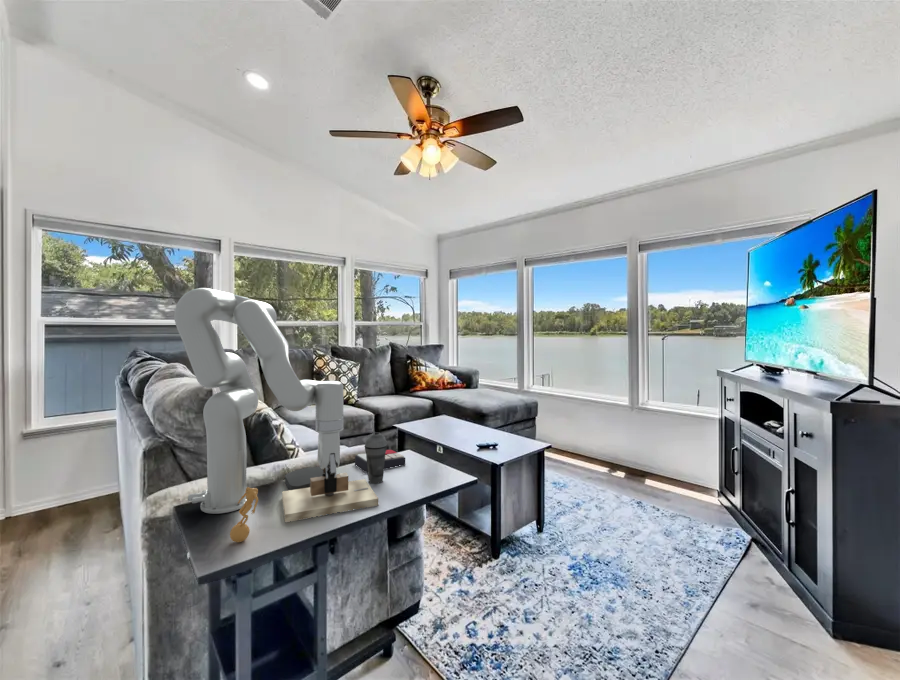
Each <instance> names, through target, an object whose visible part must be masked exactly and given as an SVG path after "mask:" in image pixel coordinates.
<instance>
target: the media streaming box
mask: <svg viewBox="0 0 900 680" xmlns="http://www.w3.org/2000/svg"><path fill="white" fill-rule="evenodd" d="M323 474H325V473H323V469H321V467H320V466H312V467H311V466H310V467H304V468H299V469H295V470H291V471H290V472H287V473H286V474H285V475H284V483H285V486H286V487H287V489H288V491H289V490H296V489H302V488H309V487H310V478H314V477H321V476H323Z"/></svg>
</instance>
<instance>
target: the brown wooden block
mask: <svg viewBox="0 0 900 680" xmlns="http://www.w3.org/2000/svg"><path fill="white" fill-rule="evenodd" d="M336 477H337V490H336V492H341V491H347V490H348V482H349V475H348V473H347V472H341V473H338V474H337V473H336ZM324 478H326V476H321V477H314V478H310V493H311V496H316V495H322V494H325V496H332V495H334V492H330V493H325V492H324Z"/></svg>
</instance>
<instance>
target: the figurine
mask: <svg viewBox="0 0 900 680" xmlns="http://www.w3.org/2000/svg"><path fill="white" fill-rule="evenodd" d="M245 492H246V493H245V494H244V495H243V496H242V497H241V499H240V500H239V502H238V504H239V503H240V501H241V500H242V499H243V498H244V497H245V496H246V500H247V501H246V502H245V503H244V505H243V506H242V508H241V509H238V510H239V511H238V512H239V514H240V515H241V516H242V518H241V519H240V521H238V522H237V523H236V524H234V526H232V528H231V529H230V531H229V538H230V539H231V541H233V542H234V543H242V542H244V541H245V540H247V539H248V538H249V535H250V527H249V525H248V524H246V523H247V521H248V520H249V515H248V513H249V511H250V512H251V515H254V514H255V512H256V508H257V505H258V502H259V497H258V493H259V489H258V488H257V487H249V486H246V491H245ZM254 500H255V503H254ZM253 503H254V506H253ZM252 508H253V509H252ZM251 509H252V510H251Z"/></svg>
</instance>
